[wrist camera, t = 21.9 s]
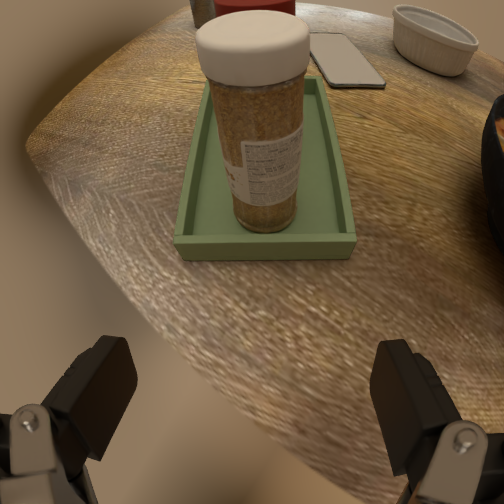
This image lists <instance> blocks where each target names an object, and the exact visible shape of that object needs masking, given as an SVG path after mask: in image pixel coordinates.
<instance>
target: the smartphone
mask: <svg viewBox="0 0 504 504" xmlns="http://www.w3.org/2000/svg"><path fill="white" fill-rule="evenodd" d="M310 54H311V56H312V57H313V59H314V60H315V62H316V63H317V65H318V67H319V68H320V70H321V72H322V73H323V75H324V77H325V78H326V80H327V82H328V83H329V85H331V86H333V87H379V88H383V87H385V86H386V82H385V81H384V79H383V78H382V77H381V76H380V74H379V73H378V72H377V71H376V70H375V68H374V67H373V66H372V65H371V64H370V62H369V61H368V60H367V59H366V58H365V56H364V55H363V54H362V53H361V52H360V51H359V50H358V49H357V47H356V46H355V45H354V44H353V43H352V42H351V41H350V40H349V39H348V38H347V37H346V36H345V35H344V34H342V33H310Z"/></svg>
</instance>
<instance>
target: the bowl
mask: <svg viewBox="0 0 504 504" xmlns="http://www.w3.org/2000/svg"><path fill="white" fill-rule="evenodd" d="M481 165H482V174H483V181H484V188H485V193H486V196H487V200H488V211H487V215H488V221H489V226H490V229H491V232H492V235H493V237H494V239H495V241H496V243H497V245H498V247H499V249H500V250H501V252H502V253H503V255H504V94H503V95H501V96H499V97H498V98H497V99H496V100H495V101H494V104H493V106H492V109H491V111H490V113H489V115H488V118H487V120H486V123H485V127H484V130H483V135H482V150H481Z"/></svg>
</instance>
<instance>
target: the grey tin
mask: <svg viewBox="0 0 504 504" xmlns="http://www.w3.org/2000/svg"><path fill="white" fill-rule="evenodd" d="M190 5H191V10H192V15H193V19H194V24H195V27H196V28H201V27H202V26H203V25H204V24H205V23H207V22H209V21H210V20H212V19H215V18H216V12H215V6H214V0H190Z"/></svg>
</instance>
